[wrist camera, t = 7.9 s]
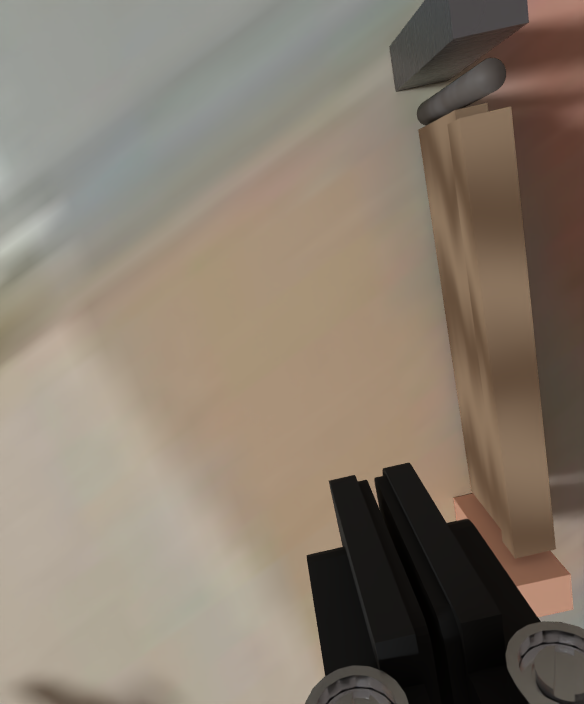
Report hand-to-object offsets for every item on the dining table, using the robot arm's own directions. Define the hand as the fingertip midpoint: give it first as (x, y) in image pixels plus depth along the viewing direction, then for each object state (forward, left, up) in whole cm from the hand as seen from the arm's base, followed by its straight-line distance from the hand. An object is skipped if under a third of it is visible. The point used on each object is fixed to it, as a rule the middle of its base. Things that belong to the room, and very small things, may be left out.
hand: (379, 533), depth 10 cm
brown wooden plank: (0, +7, -15) cm, 17 cm away
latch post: (+11, +7, -16) cm, 20 cm away
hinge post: (-11, +7, -16) cm, 21 cm away
